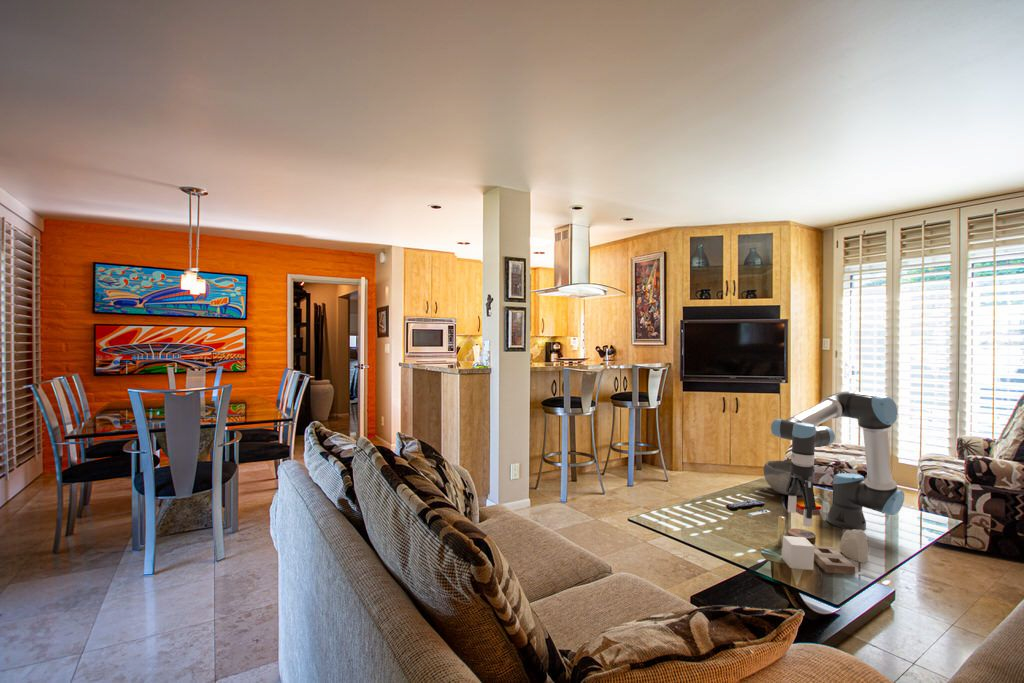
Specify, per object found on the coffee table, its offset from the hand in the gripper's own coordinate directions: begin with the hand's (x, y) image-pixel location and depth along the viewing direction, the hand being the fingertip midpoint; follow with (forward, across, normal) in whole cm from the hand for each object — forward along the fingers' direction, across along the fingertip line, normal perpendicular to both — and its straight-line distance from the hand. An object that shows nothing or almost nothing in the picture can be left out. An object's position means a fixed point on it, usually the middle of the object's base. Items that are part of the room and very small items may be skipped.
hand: (799, 519), depth 191 cm
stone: (+18, -10, +25) cm, 32 cm away
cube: (+18, 0, 0) cm, 18 cm away
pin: (+18, -16, 0) cm, 24 cm away
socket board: (+18, -3, +13) cm, 22 cm away
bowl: (+17, -86, +30) cm, 93 cm away
